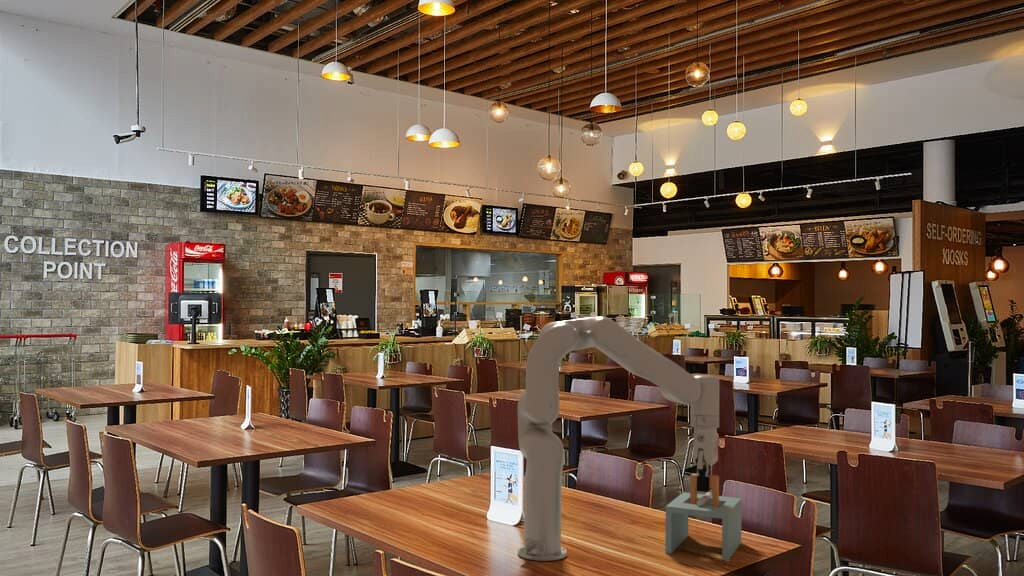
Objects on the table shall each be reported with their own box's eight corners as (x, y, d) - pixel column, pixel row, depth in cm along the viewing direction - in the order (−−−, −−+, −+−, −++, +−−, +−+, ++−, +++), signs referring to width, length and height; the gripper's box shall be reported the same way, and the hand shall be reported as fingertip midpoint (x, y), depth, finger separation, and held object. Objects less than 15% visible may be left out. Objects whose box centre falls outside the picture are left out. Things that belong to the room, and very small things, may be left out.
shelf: (728, 561, 201) (728, 506, 202) (665, 552, 208) (665, 500, 208) (741, 542, 219) (741, 492, 220) (683, 535, 226) (683, 486, 226)
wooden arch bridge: (718, 513, 214) (718, 475, 214) (716, 515, 211) (716, 477, 211) (692, 510, 217) (692, 473, 217) (690, 512, 214) (690, 475, 214)
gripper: (712, 425, 206) (712, 497, 205) (724, 419, 221) (724, 486, 220) (684, 423, 209) (683, 494, 208) (697, 417, 224) (697, 483, 223)
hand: (704, 489), depth 214 cm, fingers closed on wooden arch bridge, 3 cm apart
